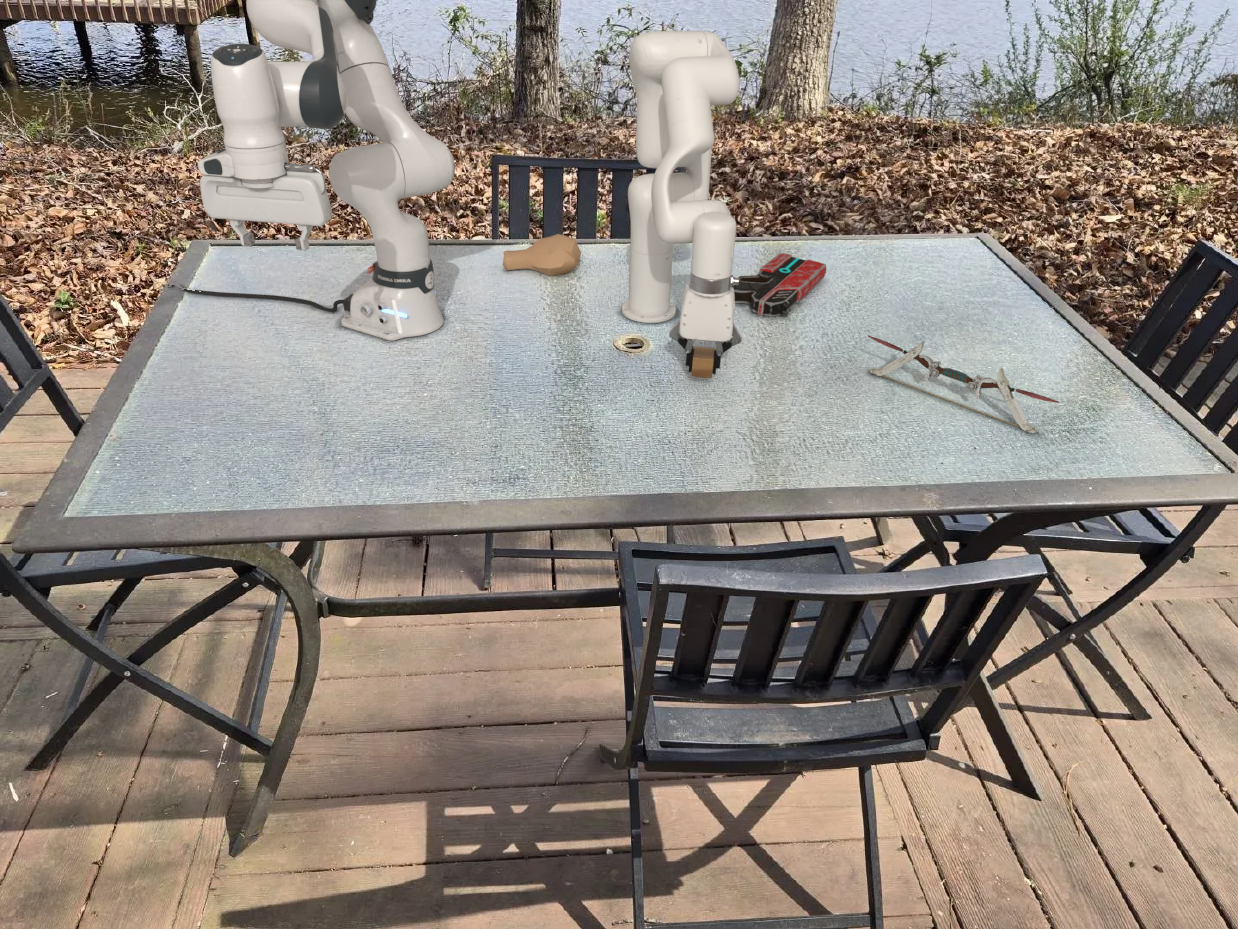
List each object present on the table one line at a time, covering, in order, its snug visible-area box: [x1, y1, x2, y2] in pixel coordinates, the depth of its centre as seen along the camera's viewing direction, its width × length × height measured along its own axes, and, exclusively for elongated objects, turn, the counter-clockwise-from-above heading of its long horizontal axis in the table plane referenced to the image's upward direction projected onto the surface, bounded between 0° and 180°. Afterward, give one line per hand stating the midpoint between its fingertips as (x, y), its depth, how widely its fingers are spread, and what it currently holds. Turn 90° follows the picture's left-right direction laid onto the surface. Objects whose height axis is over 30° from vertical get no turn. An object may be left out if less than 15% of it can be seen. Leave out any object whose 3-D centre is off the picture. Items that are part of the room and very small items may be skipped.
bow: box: [867, 334, 1060, 434], centre depth 169 cm, size 39×2×10 cm, turn 47°
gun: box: [732, 252, 827, 318], centre depth 215 cm, size 4×31×19 cm
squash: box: [502, 233, 582, 276], centre depth 221 cm, size 11×20×9 cm, turn 90°
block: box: [690, 346, 716, 379], centre depth 171 cm, size 5×4×4 cm
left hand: (275, 247), depth 144 cm, fingers open, 8 cm apart
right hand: (702, 369), depth 172 cm, fingers closed on block, 4 cm apart
